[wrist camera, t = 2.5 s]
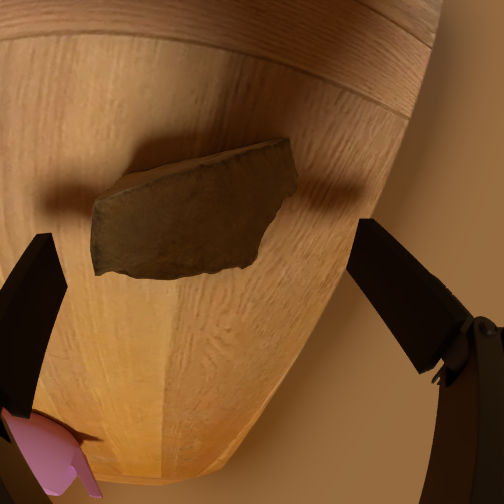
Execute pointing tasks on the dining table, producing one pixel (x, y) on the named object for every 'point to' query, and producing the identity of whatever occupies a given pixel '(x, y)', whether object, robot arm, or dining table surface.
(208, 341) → the dining table surface
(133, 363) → the dining table surface
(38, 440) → the teapot
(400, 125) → the dining table surface
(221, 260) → the rock
